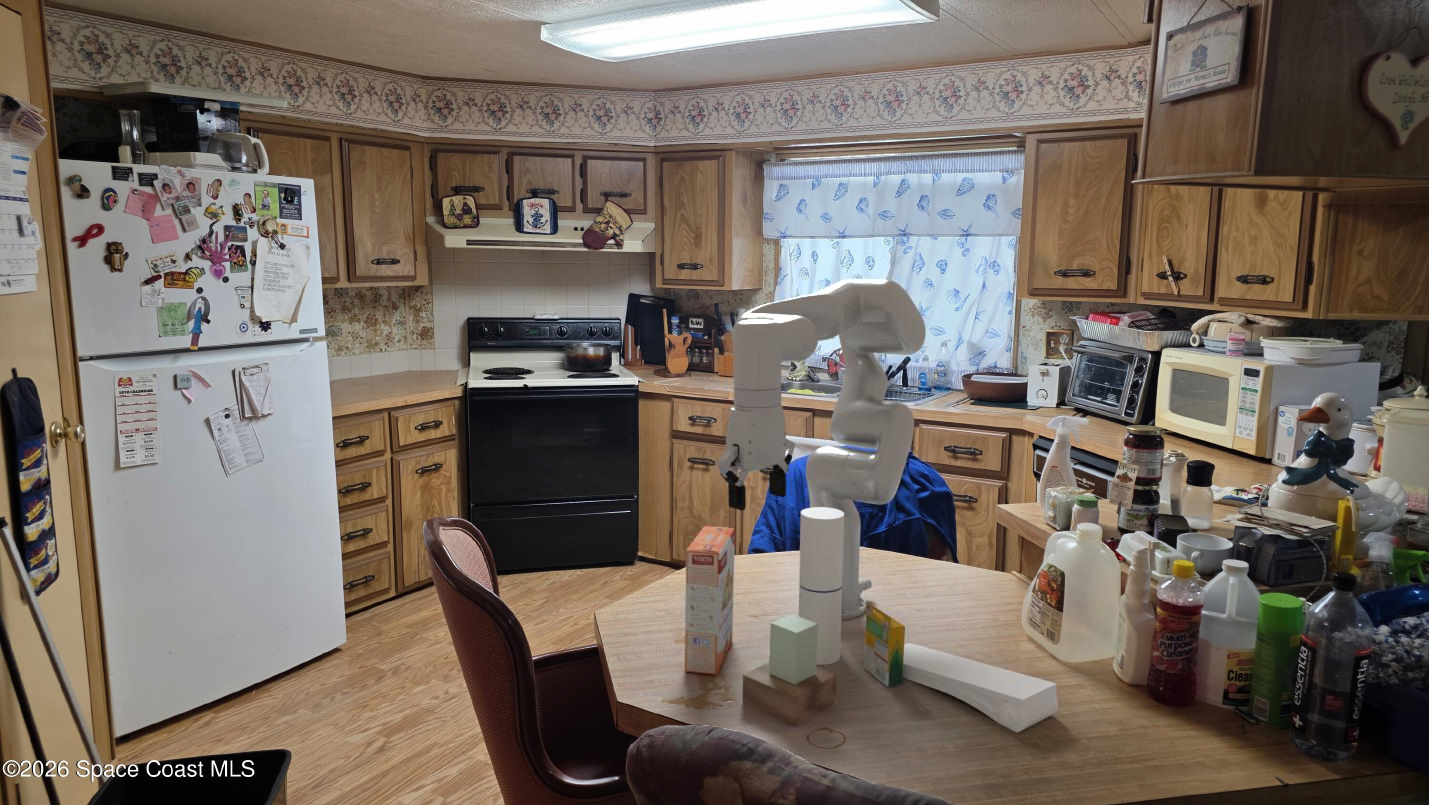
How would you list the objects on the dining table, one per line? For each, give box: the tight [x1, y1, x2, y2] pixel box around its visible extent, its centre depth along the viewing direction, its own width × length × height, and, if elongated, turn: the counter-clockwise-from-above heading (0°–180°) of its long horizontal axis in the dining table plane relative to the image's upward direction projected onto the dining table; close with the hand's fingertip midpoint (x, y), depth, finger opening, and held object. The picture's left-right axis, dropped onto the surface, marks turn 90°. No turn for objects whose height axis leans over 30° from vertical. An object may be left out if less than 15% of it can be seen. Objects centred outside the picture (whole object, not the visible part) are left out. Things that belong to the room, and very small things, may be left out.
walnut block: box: [742, 662, 838, 728], centre depth 135 cm, size 10×10×5 cm
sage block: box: [768, 614, 818, 685], centre depth 134 cm, size 5×5×8 cm
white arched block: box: [903, 642, 1059, 733], centre depth 140 cm, size 10×7×28 cm
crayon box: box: [863, 601, 906, 688], centre depth 144 cm, size 7×3×12 cm, turn 22°
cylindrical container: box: [798, 507, 844, 666], centre depth 150 cm, size 7×7×25 cm
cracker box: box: [684, 525, 736, 676], centre depth 150 cm, size 14×6×21 cm, turn 168°
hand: (757, 501), depth 145 cm, fingers open, 9 cm apart
